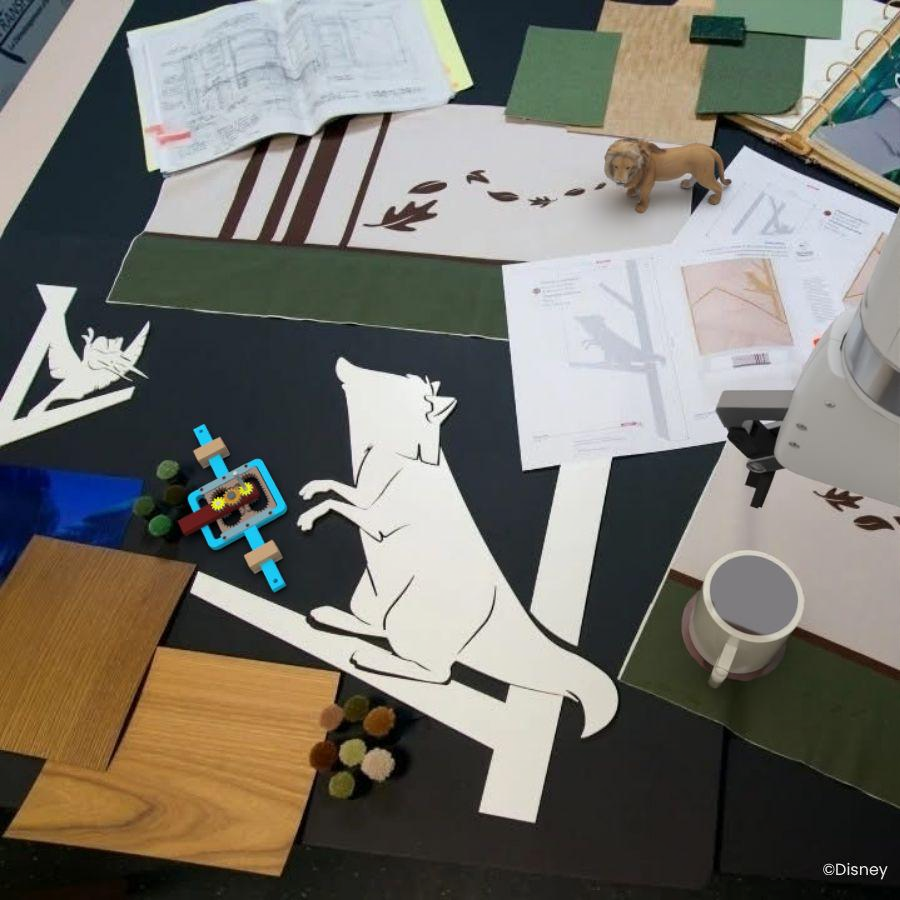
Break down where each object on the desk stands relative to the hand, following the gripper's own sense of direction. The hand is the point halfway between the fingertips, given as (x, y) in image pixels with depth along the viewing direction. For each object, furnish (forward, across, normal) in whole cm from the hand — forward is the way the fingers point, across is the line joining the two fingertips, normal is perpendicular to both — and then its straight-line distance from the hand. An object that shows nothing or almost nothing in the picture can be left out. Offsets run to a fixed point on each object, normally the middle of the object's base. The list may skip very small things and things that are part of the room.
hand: (840, 514), depth 53 cm
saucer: (+21, +3, +2) cm, 21 cm away
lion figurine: (+21, +24, -43) cm, 54 cm away
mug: (+20, +3, +3) cm, 20 cm away
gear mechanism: (+20, +49, +9) cm, 53 cm away
